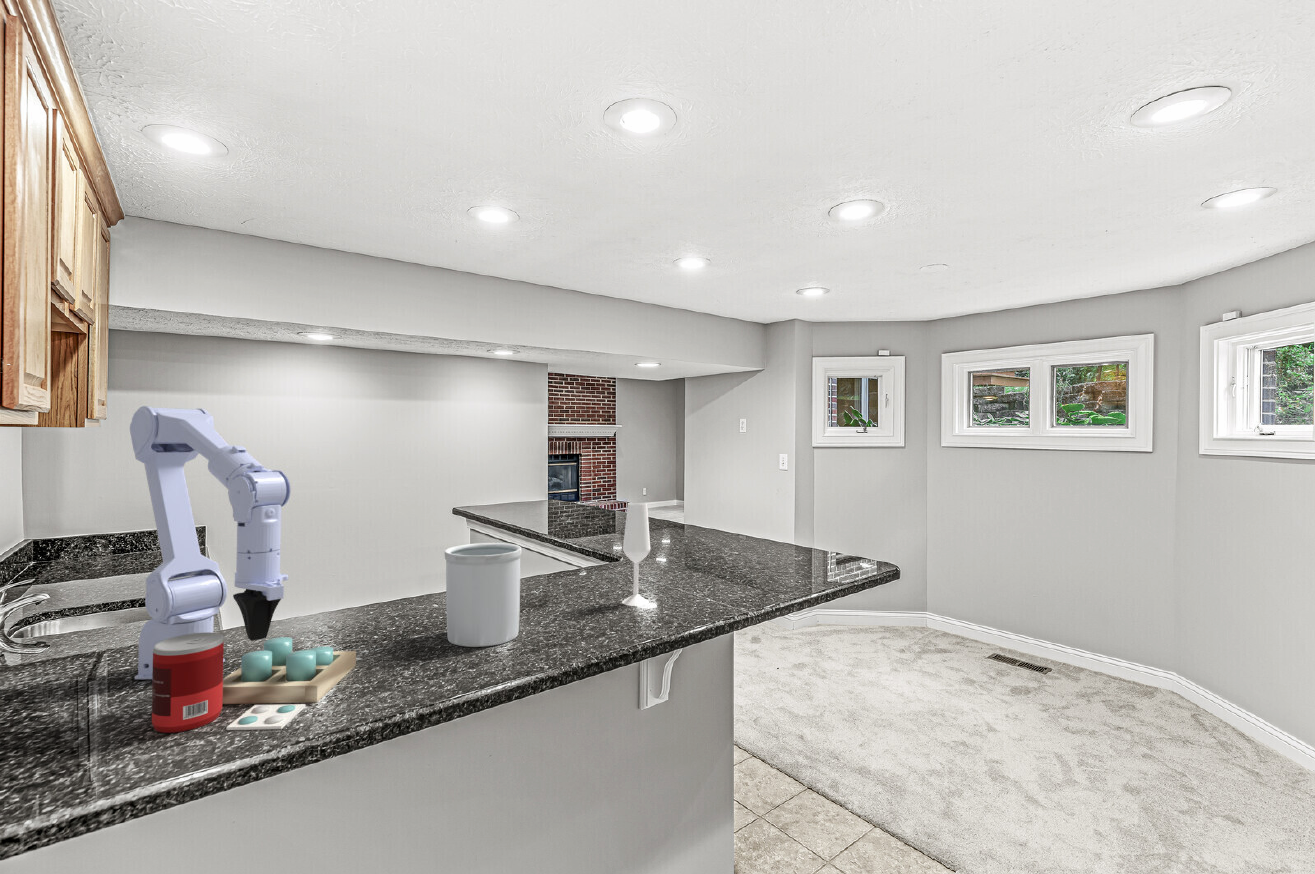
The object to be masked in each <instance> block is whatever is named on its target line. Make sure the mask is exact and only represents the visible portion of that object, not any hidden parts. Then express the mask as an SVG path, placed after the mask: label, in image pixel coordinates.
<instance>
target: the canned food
mask: <svg viewBox="0 0 1315 874" xmlns="http://www.w3.org/2000/svg"><path fill="white" fill-rule="evenodd" d="M224 645H225V644H224V635H223V634H220V633H217V632H213V633H210V632H209V633H193V634H186V635H181V636H176V637H172V638H169V639H166V640H163V641H161V642H159V643H157V644H156V645H155V646H154V650H153V672H152V679H151V680H152V683H151V684H152V685H151V686H152V687H151V689H152V690H151V691H152V693H151V724H152V726H153V728H154V730H155V731H156V732H160V733H164V734H165V733H167V734H168V733H169V734H170V733H171V734H172V733H179V732H180V733H181V732H182V733H183V732H186V731H191V730H195V729H198V728H200V727H203V726H206V725H208V724H210V723H212V722H214V721H215V720H217V718H218V717H220V715H221V713H222V709H223V704H222V698H223V679H224V662H223V659H224V657H225V656H224V650H225V649H224V648H225V647H224Z"/></svg>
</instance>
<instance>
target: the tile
mask: <svg viewBox="0 0 1315 874" xmlns="http://www.w3.org/2000/svg"><path fill="white" fill-rule="evenodd" d="M305 708H306V703H300V704H299V703H293V704H292V703H281V704H254V705H253V706H251V707H250V708H249V709H248V710H247V711H245V712H244V713H243V714H242V715H240V716H239V717H238V718H236V719H235V720H234V721H233V722H231V723H230V724H229V725H227V726H226V731H250V730H253V731H254V730H259V731H260V730H282V729H284V727H286V725H288V724H289V723H290V722H291V721H292V720H293V719H294V718H296V717H297V715H298V714H299V713H300V712H301V711H303V709H305Z"/></svg>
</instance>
